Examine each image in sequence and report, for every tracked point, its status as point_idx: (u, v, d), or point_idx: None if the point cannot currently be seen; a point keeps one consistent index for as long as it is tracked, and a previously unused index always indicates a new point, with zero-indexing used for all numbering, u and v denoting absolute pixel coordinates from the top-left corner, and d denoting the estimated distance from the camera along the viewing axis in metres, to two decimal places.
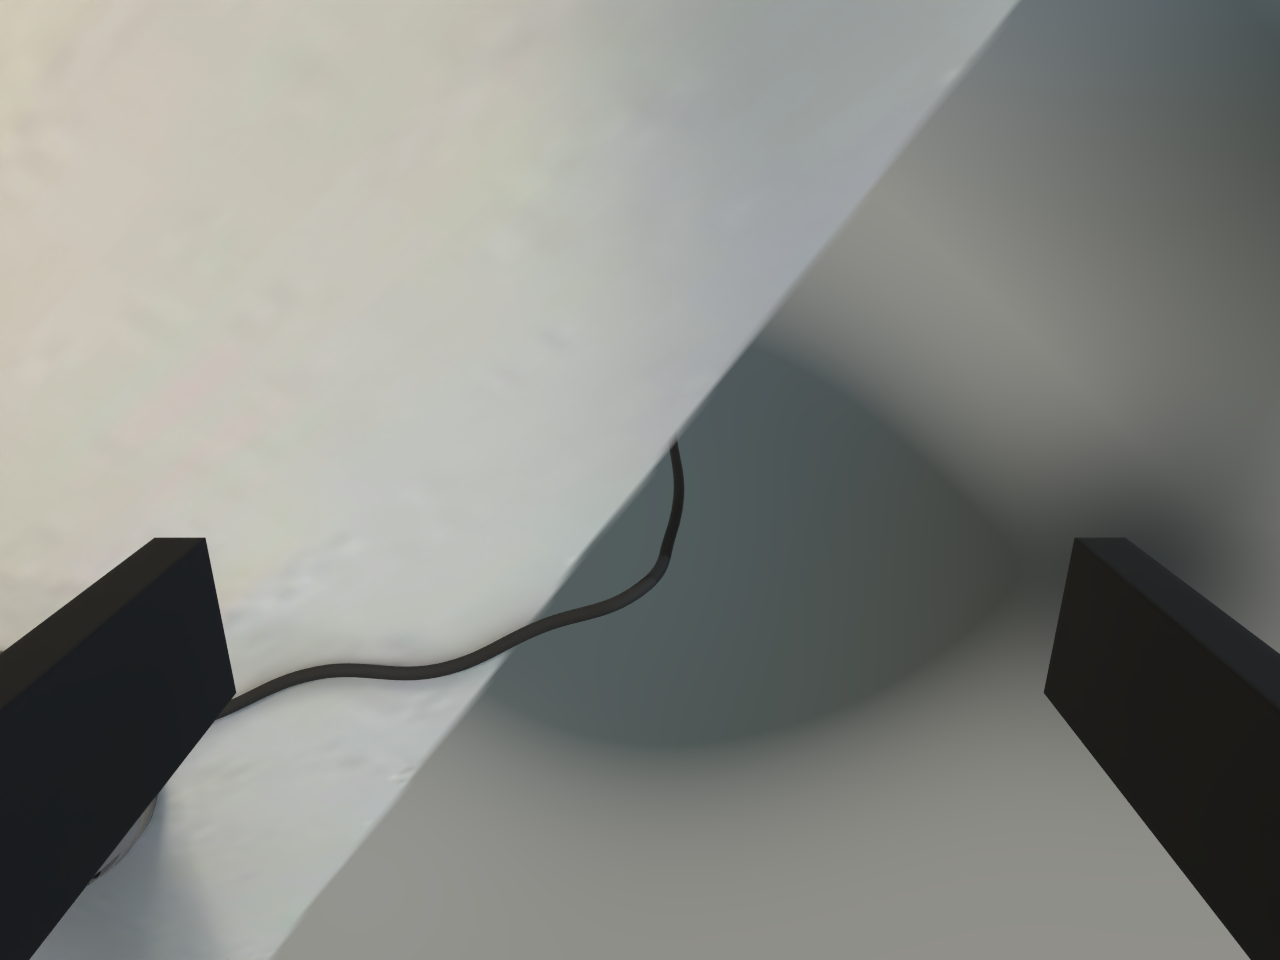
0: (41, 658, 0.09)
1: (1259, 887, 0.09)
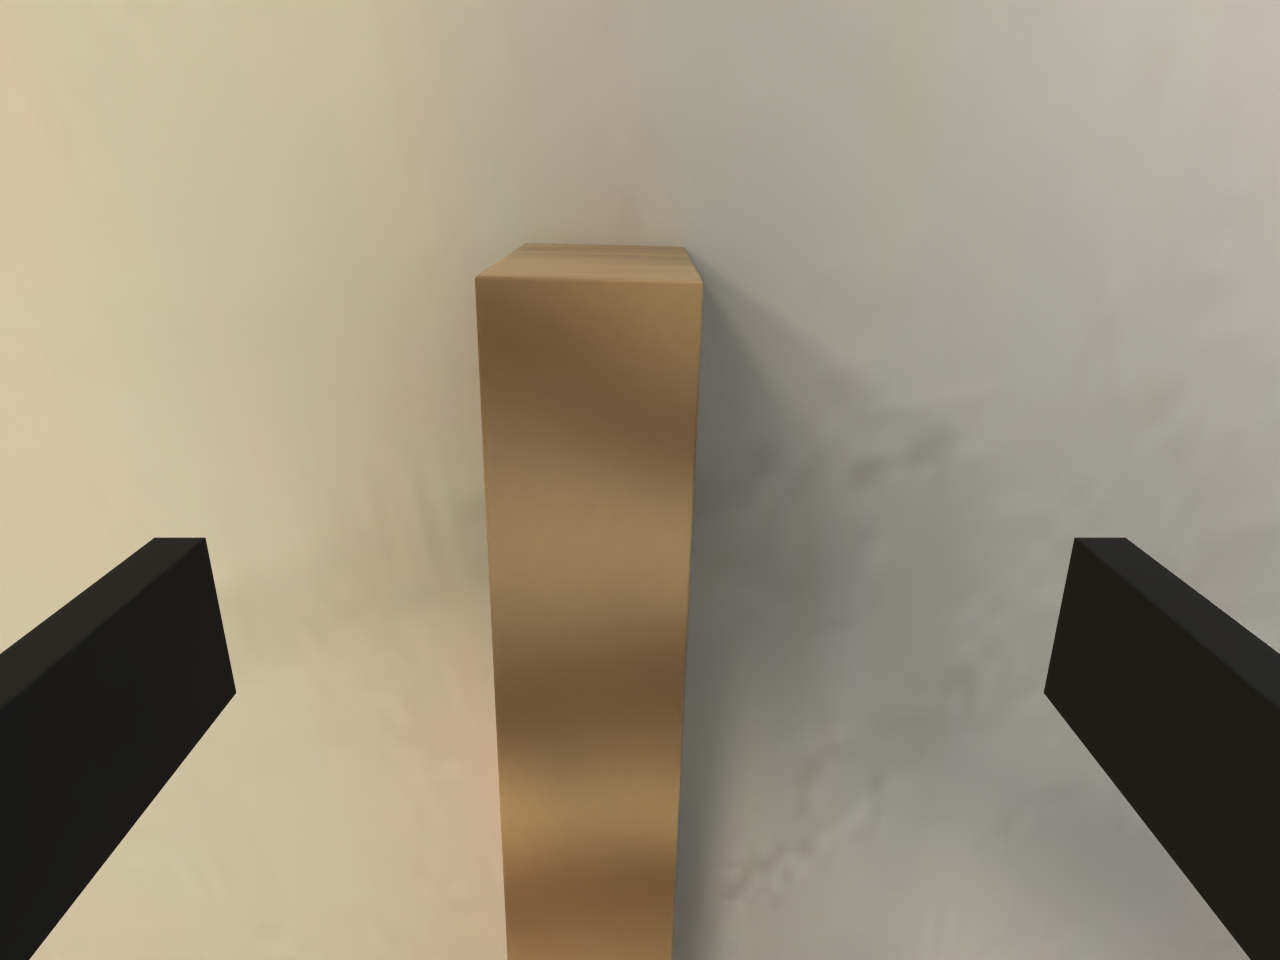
0: (41, 658, 0.09)
1: (1258, 887, 0.09)
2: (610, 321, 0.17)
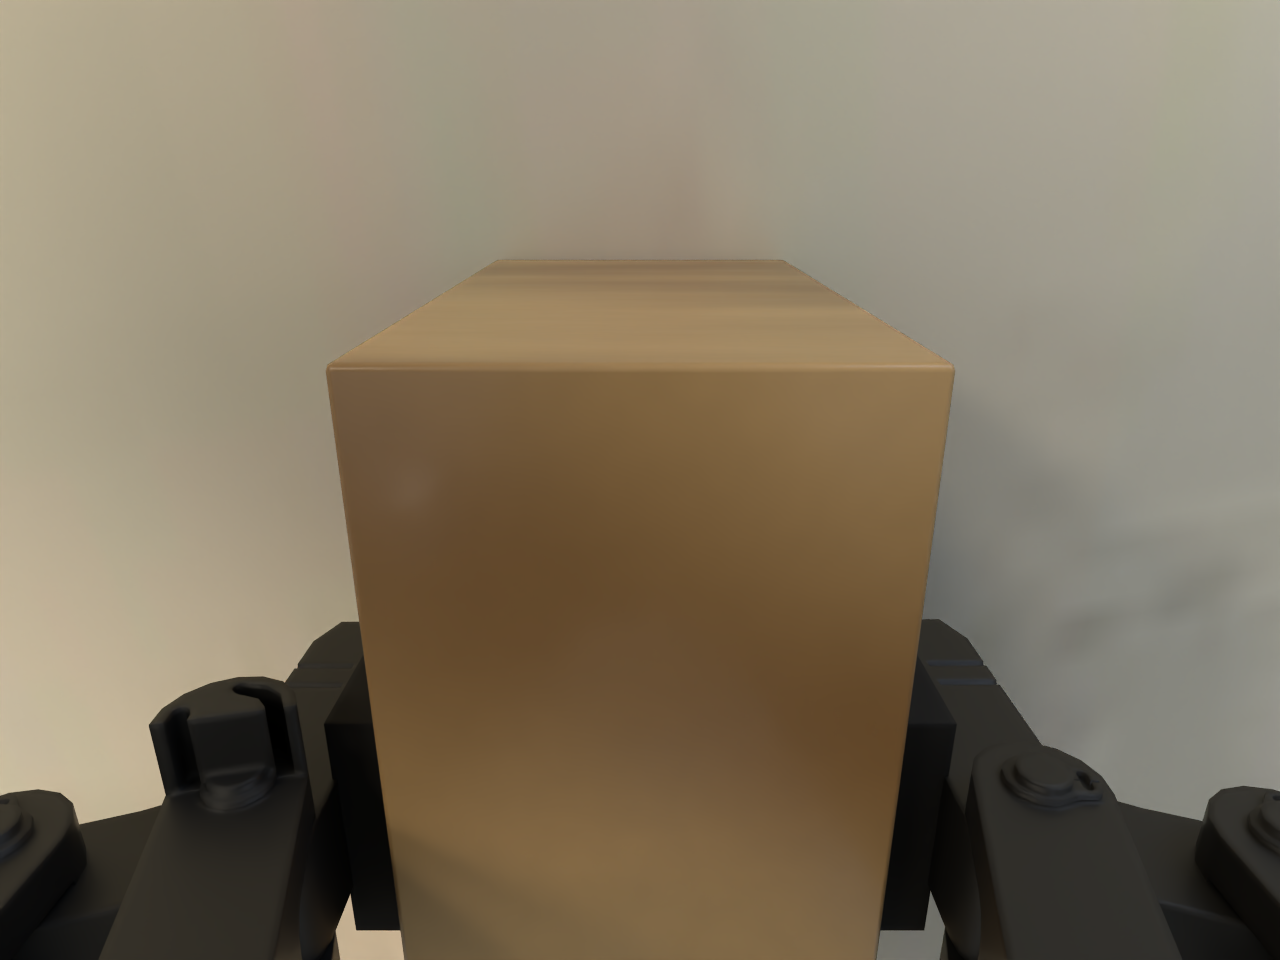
0: None
1: None
2: (697, 472, 0.06)
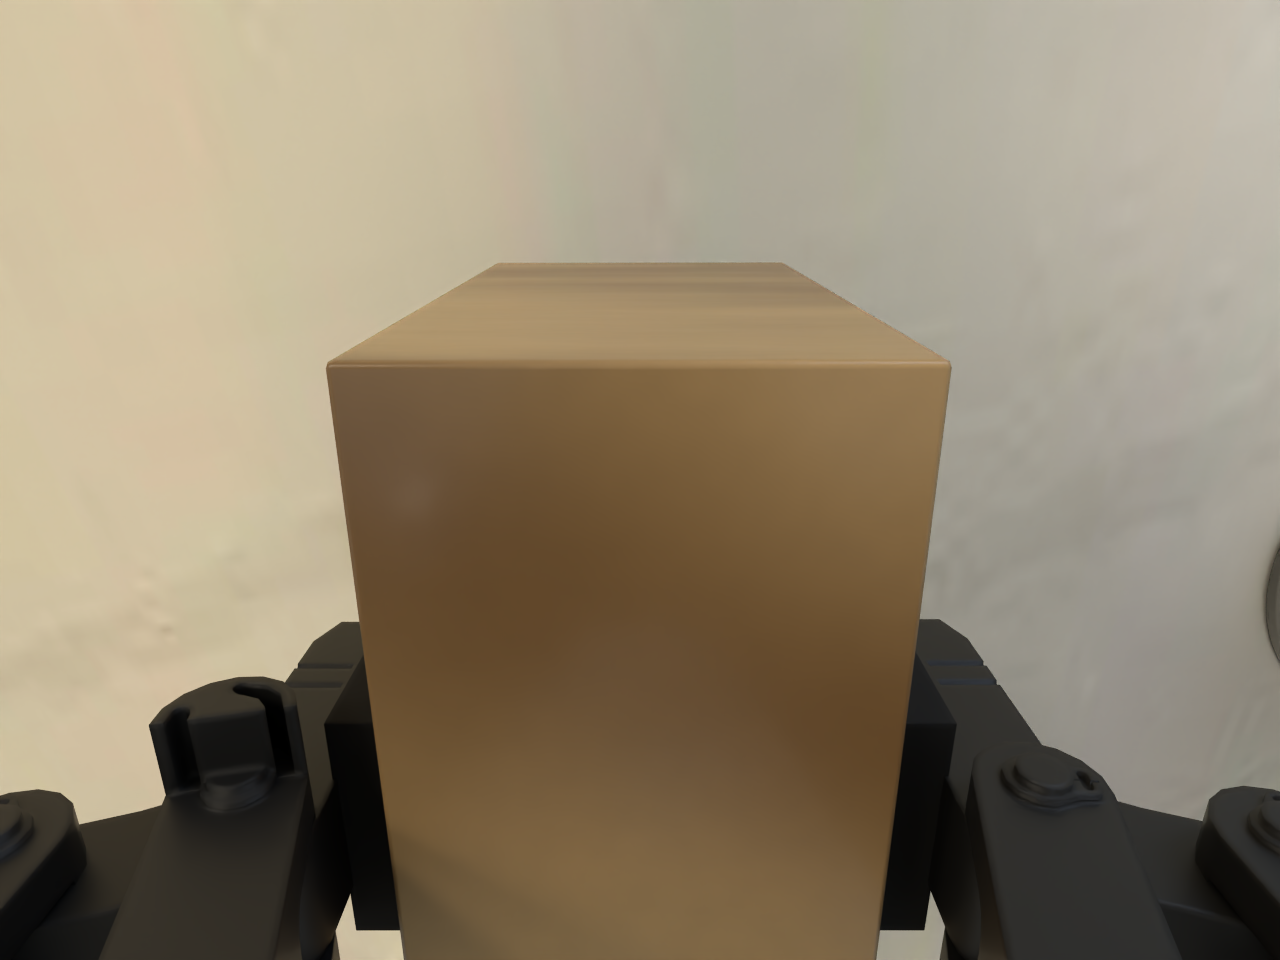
0: None
1: None
2: (696, 469, 0.06)
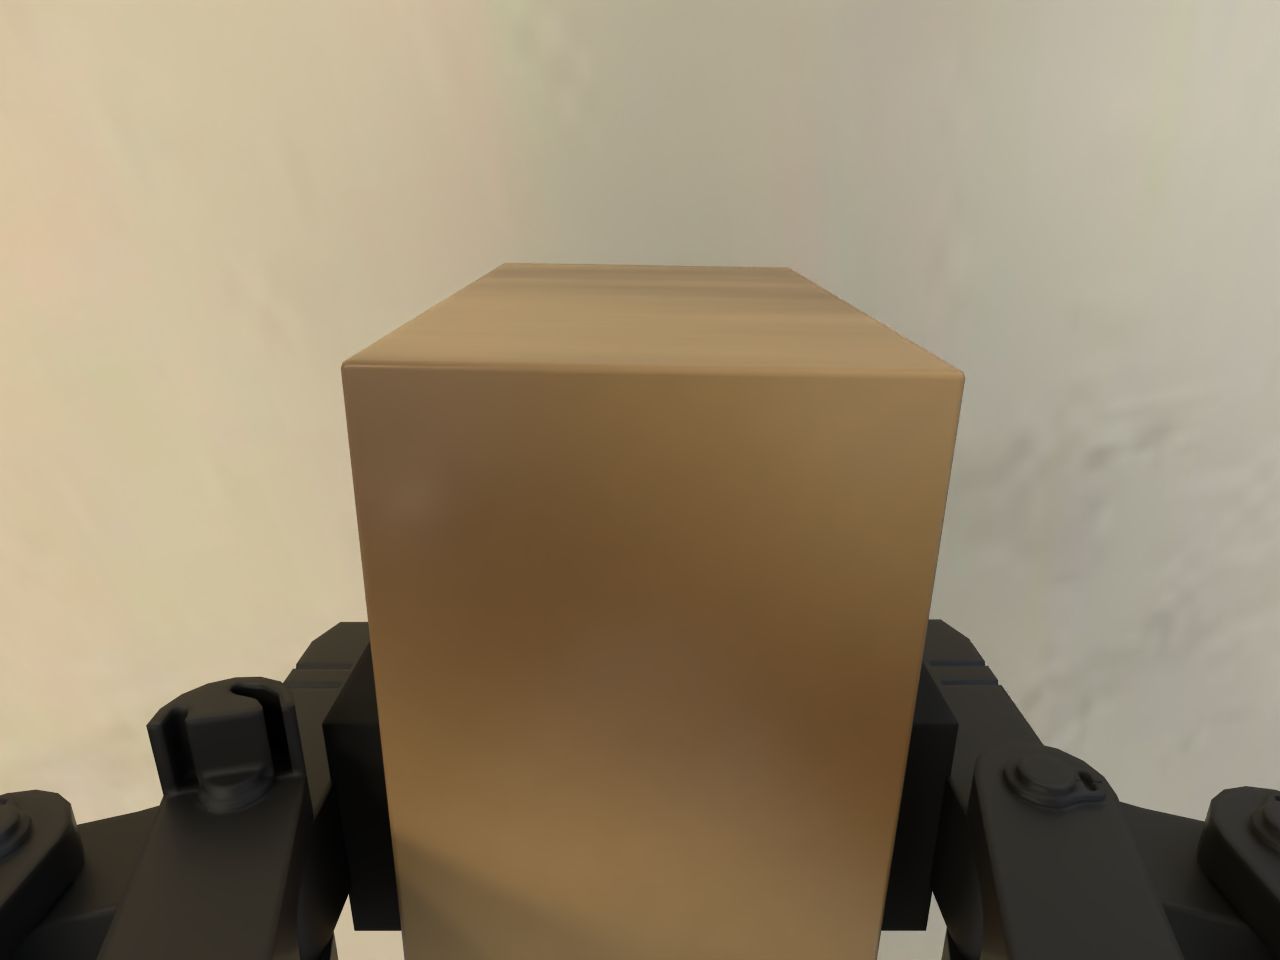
0: None
1: None
2: (707, 474, 0.06)
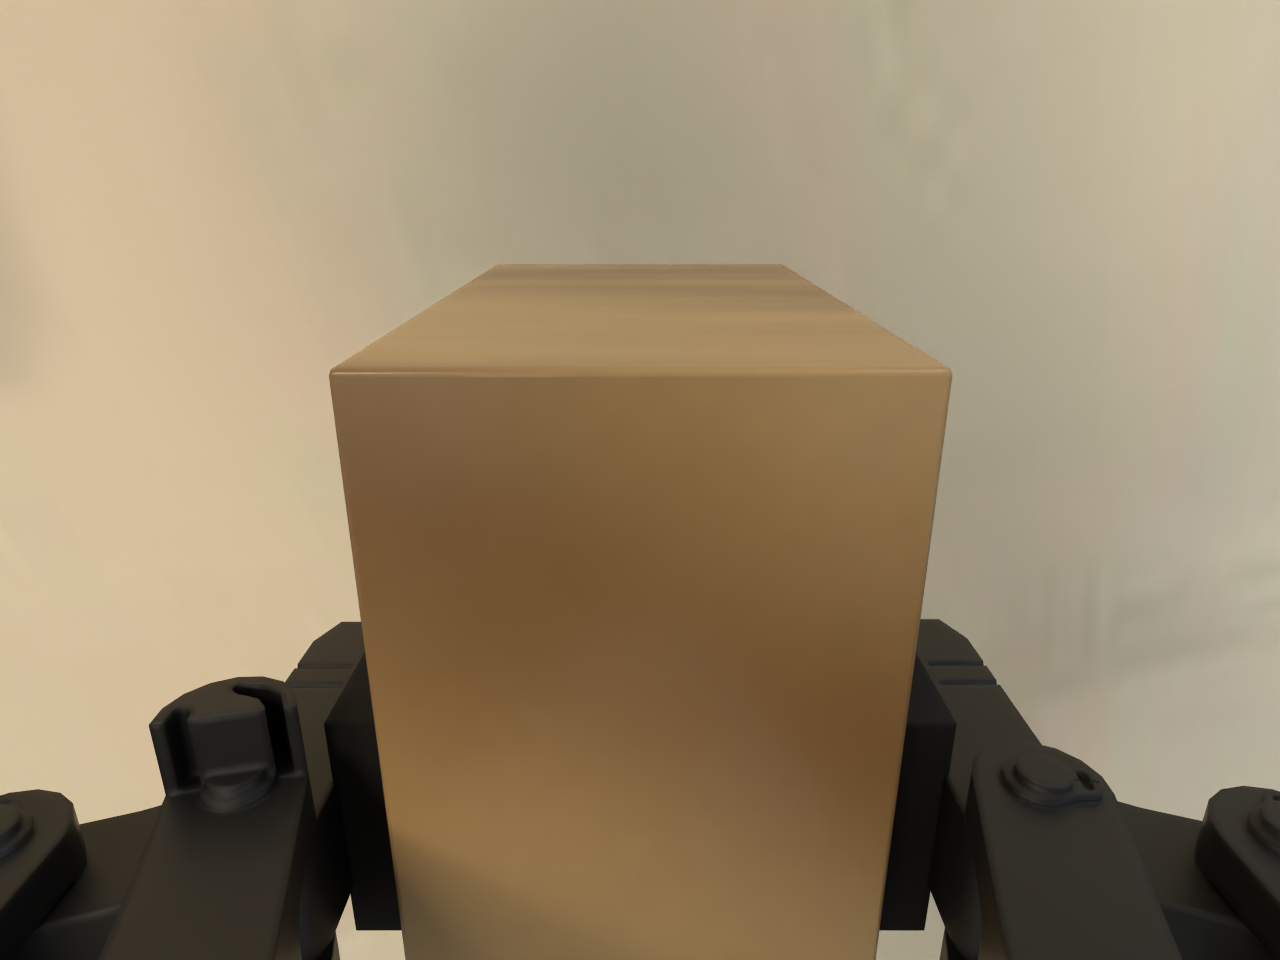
0: None
1: None
2: (698, 477, 0.07)
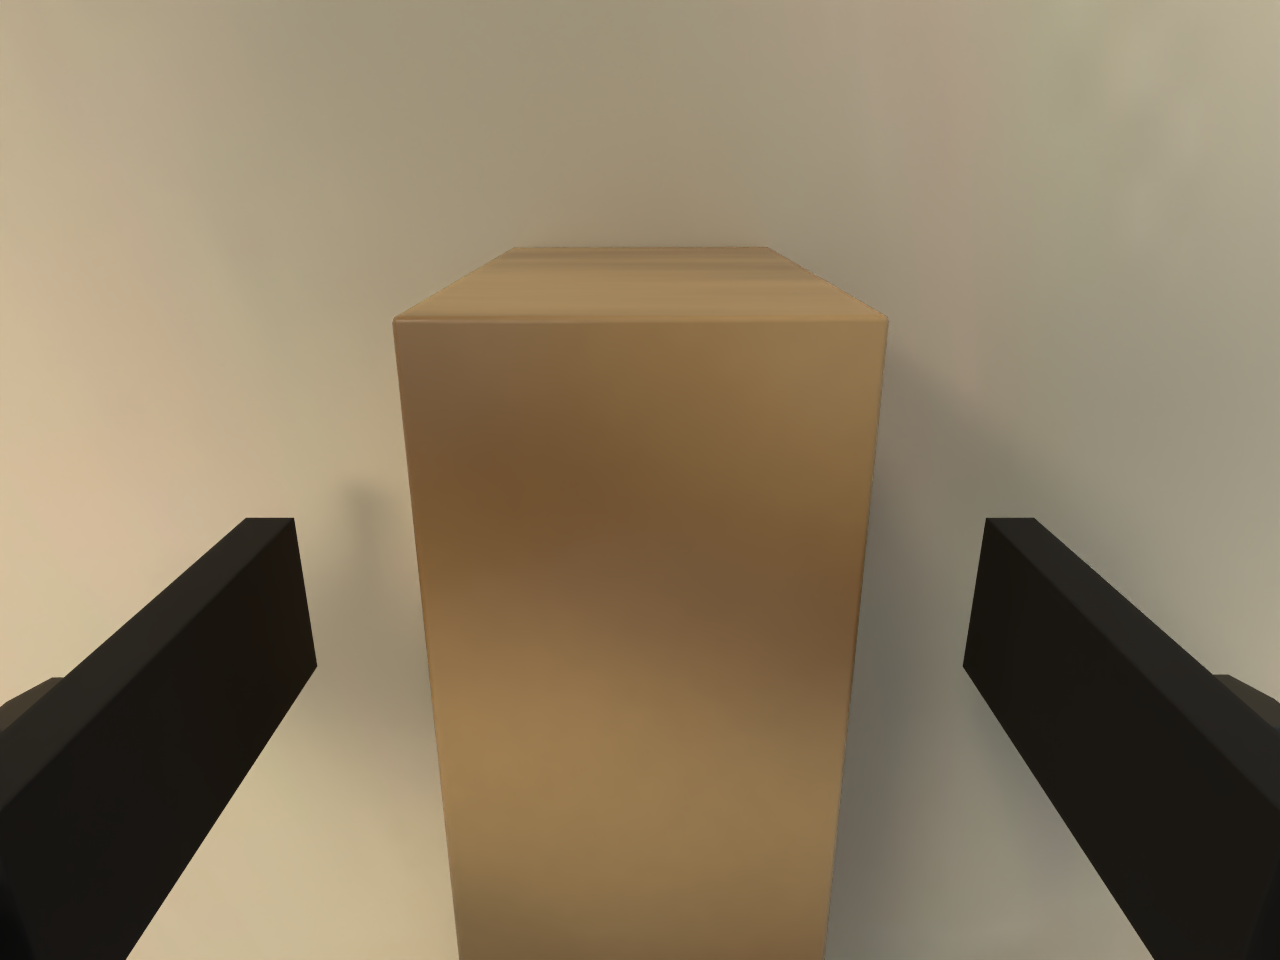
0: (169, 623, 0.10)
1: (1123, 833, 0.09)
2: (686, 404, 0.08)
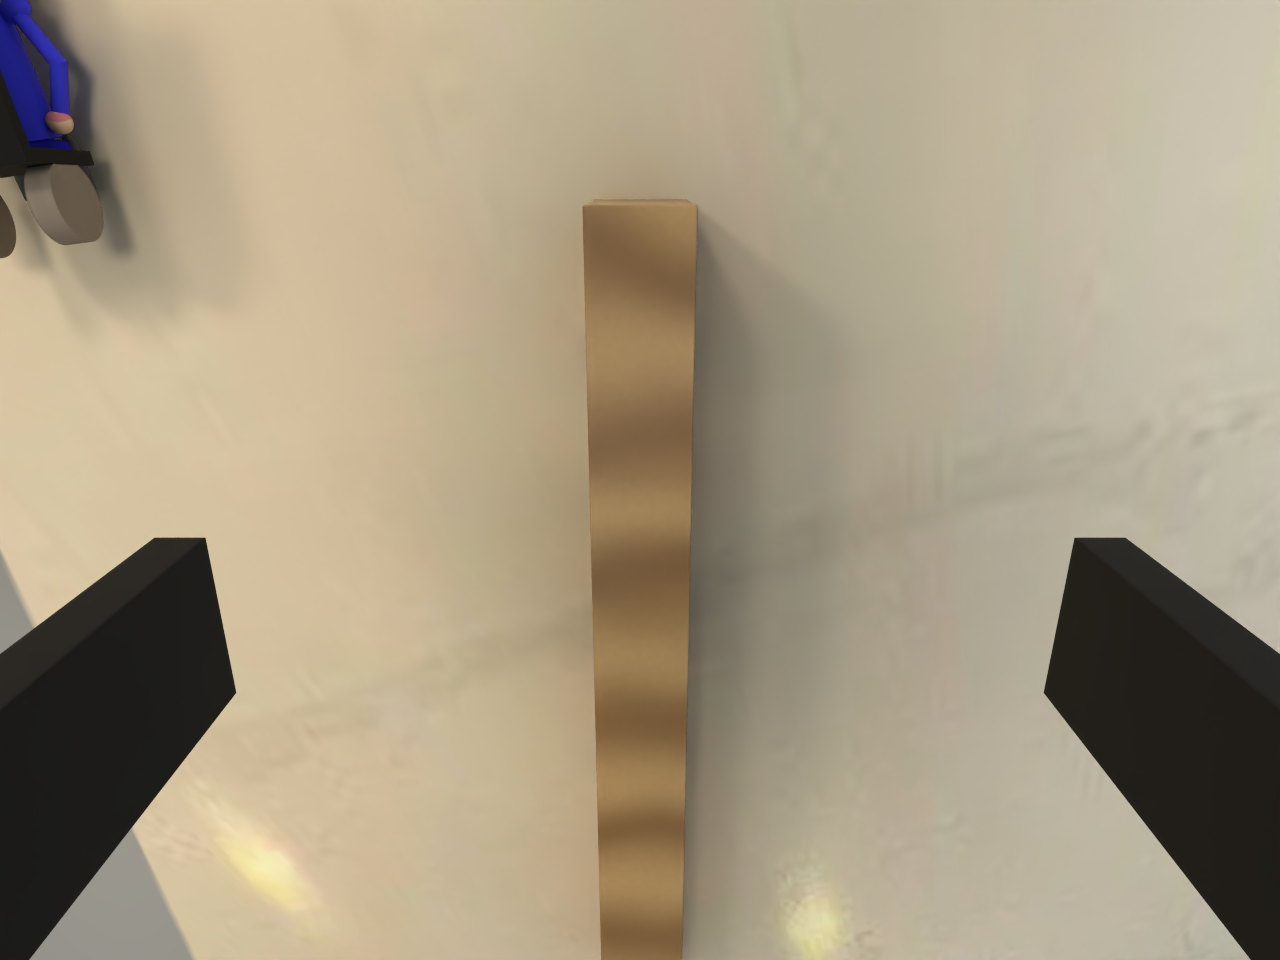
0: (41, 658, 0.09)
1: (1258, 887, 0.09)
2: (650, 227, 0.34)
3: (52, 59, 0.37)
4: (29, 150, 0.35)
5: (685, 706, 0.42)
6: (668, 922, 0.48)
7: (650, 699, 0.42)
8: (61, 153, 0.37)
